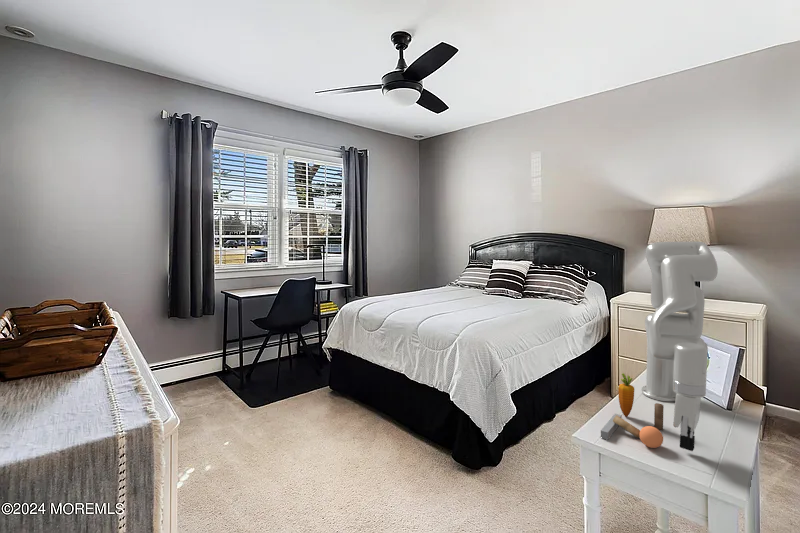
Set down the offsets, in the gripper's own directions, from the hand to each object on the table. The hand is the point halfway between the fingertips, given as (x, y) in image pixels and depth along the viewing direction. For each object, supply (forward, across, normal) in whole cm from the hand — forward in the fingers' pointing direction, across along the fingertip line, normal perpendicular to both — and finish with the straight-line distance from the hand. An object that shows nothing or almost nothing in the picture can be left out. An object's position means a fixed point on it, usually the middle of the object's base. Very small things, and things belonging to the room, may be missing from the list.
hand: (686, 448), depth 115 cm
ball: (-2, +3, -8) cm, 9 cm away
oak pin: (0, 0, -12) cm, 12 cm away
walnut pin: (+2, -10, -9) cm, 14 cm away
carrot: (+2, -12, -19) cm, 23 cm away
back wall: (+2, 0, -20) cm, 20 cm away
